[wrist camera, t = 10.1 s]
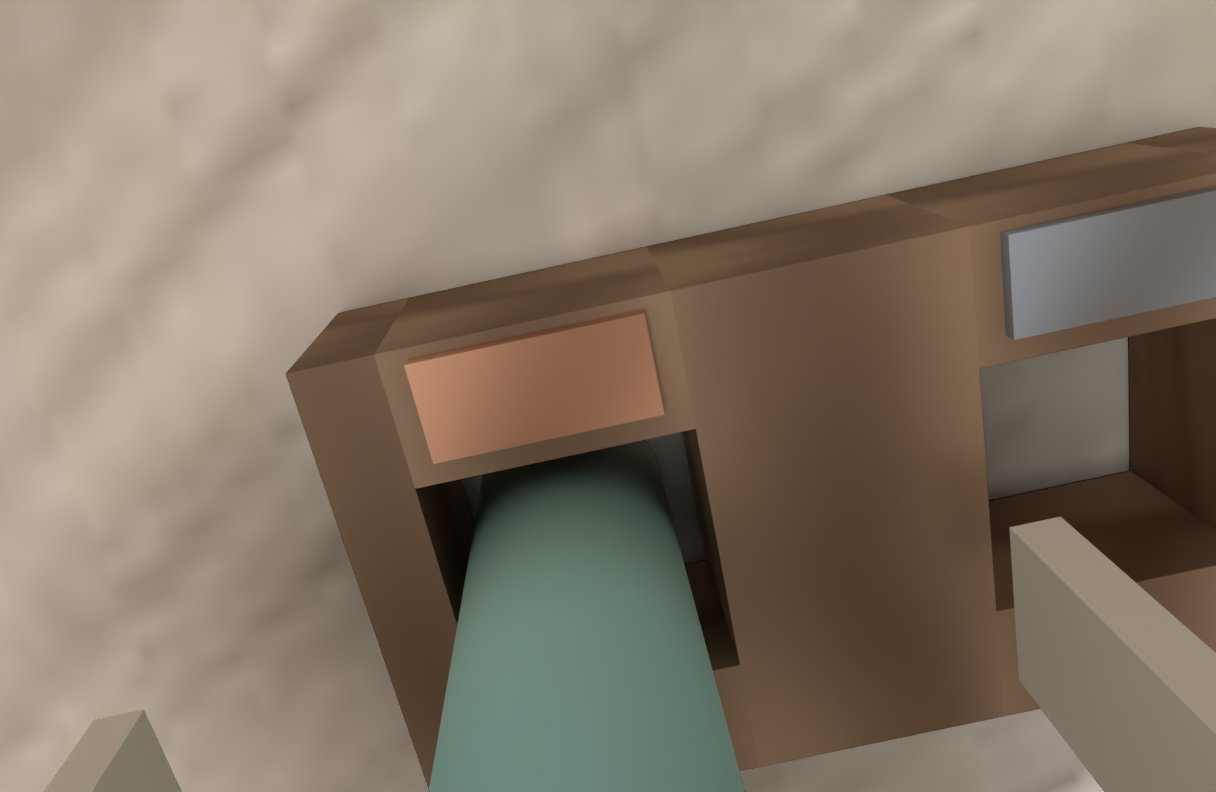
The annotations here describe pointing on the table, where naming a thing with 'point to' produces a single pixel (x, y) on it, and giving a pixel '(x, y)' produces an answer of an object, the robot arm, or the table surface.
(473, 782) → the plug
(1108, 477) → the socket block
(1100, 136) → the table surface
